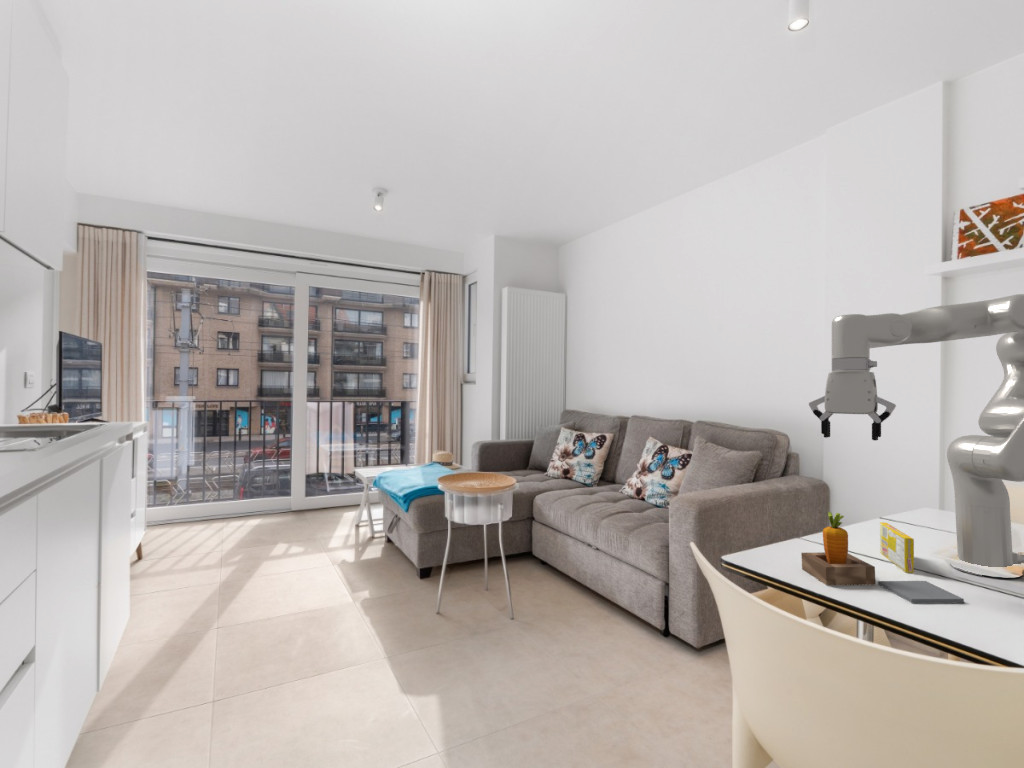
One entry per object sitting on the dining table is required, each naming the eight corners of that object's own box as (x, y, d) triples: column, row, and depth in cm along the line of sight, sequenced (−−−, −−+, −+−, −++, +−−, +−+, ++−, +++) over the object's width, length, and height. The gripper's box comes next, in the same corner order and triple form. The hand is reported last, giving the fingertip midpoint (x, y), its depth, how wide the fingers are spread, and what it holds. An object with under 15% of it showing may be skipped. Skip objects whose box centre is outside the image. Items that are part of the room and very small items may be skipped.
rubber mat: (925, 584, 110) (925, 580, 110) (963, 602, 100) (963, 598, 100) (878, 584, 111) (878, 581, 111) (911, 603, 101) (911, 599, 101)
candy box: (916, 574, 117) (914, 538, 117) (905, 573, 118) (903, 537, 118) (889, 553, 132) (887, 521, 133) (879, 552, 133) (878, 521, 133)
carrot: (824, 571, 120) (821, 508, 120) (849, 575, 117) (846, 510, 118) (824, 578, 115) (821, 512, 116) (850, 582, 113) (847, 515, 113)
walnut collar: (846, 569, 121) (846, 552, 121) (875, 585, 111) (874, 566, 111) (802, 569, 122) (801, 552, 122) (826, 585, 111) (825, 567, 111)
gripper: (898, 366, 116) (898, 440, 116) (813, 368, 128) (813, 435, 128) (892, 364, 111) (893, 442, 110) (805, 367, 123) (804, 436, 123)
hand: (850, 438), depth 119 cm, fingers open, 9 cm apart
